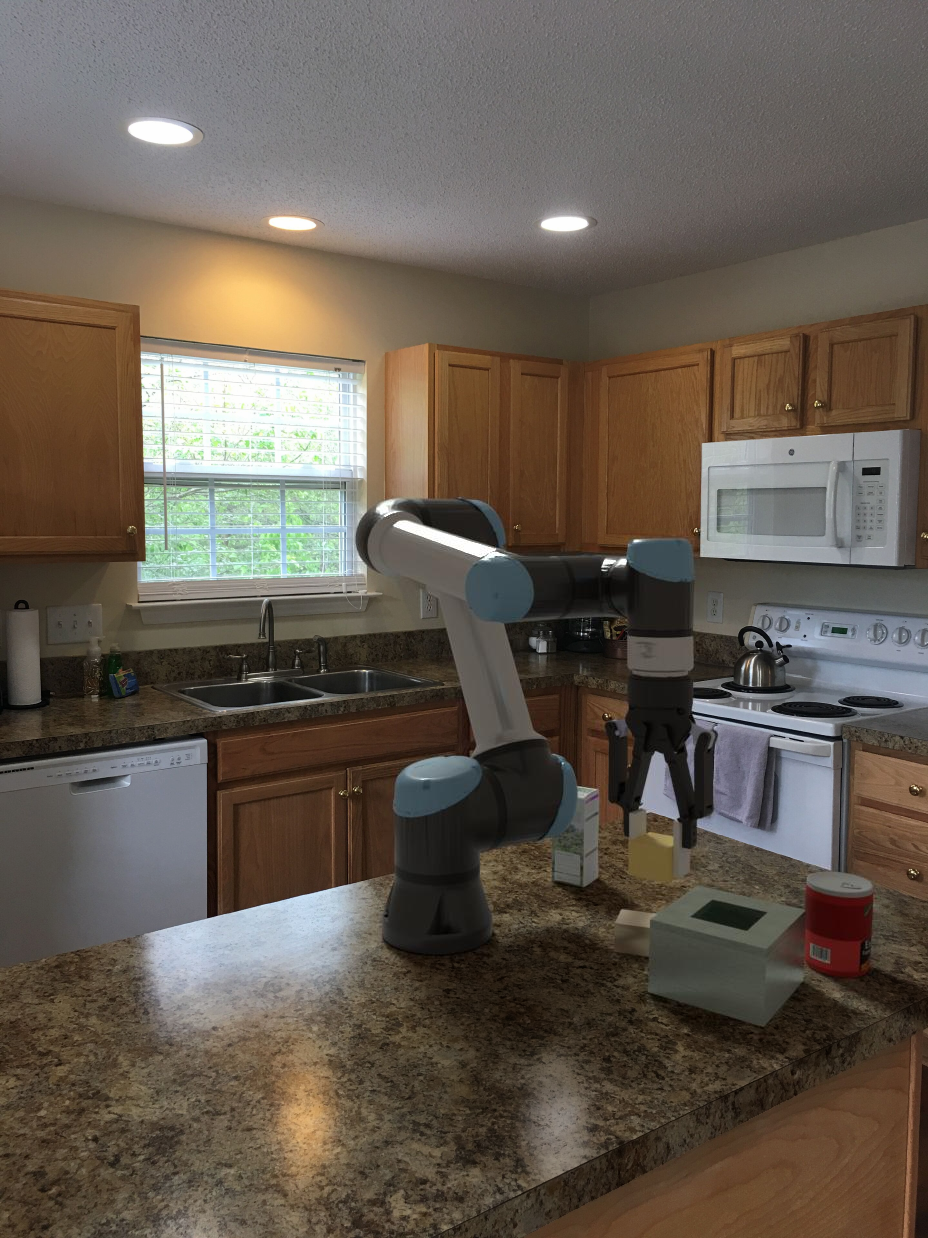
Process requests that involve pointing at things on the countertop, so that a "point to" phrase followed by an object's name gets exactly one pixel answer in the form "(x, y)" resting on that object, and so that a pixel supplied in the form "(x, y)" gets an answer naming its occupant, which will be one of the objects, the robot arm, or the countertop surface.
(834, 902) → the canned food
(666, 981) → the box
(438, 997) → the countertop surface
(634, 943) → the block
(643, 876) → the block
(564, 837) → the syrup box
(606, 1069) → the countertop surface
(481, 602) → the robot arm
